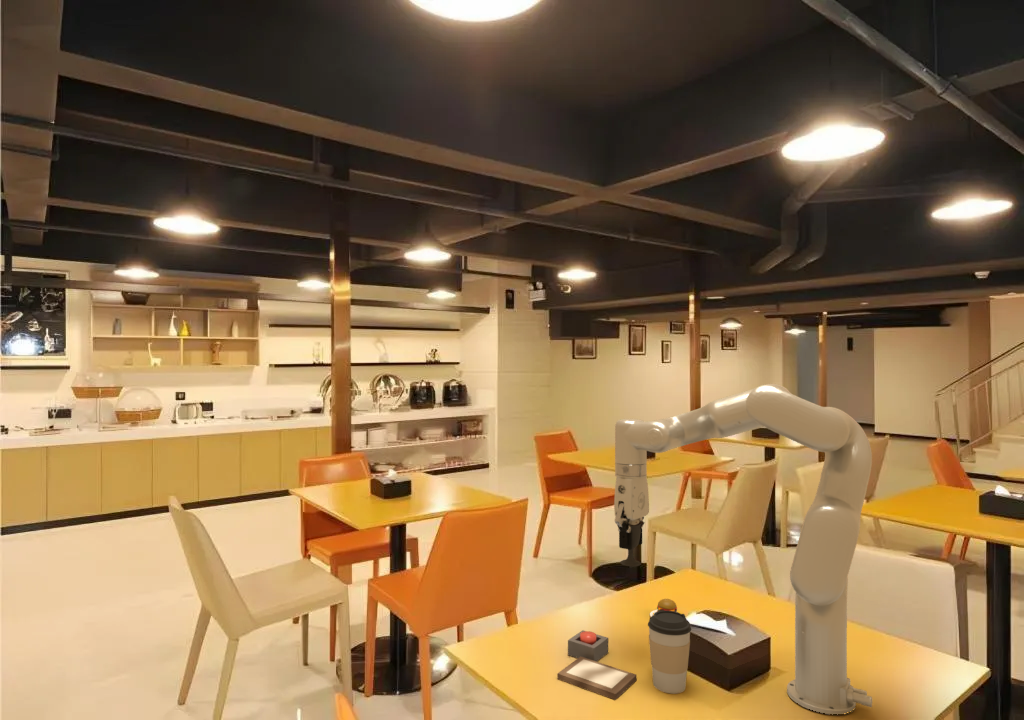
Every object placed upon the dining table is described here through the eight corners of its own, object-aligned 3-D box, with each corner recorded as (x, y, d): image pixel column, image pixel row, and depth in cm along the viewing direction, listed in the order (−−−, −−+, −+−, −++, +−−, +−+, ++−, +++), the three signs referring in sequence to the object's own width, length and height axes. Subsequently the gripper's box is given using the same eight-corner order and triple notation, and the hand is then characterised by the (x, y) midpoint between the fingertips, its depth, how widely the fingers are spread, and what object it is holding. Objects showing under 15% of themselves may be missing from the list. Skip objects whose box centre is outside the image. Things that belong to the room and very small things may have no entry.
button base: (608, 652, 145) (608, 637, 145) (594, 663, 140) (594, 648, 140) (582, 644, 149) (582, 630, 150) (567, 655, 144) (567, 640, 144)
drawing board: (636, 680, 132) (636, 673, 132) (615, 700, 124) (615, 693, 124) (580, 661, 141) (580, 655, 141) (557, 678, 133) (557, 672, 133)
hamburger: (637, 612, 171) (637, 592, 172) (676, 609, 174) (677, 590, 174) (654, 630, 160) (654, 609, 160) (697, 627, 162) (697, 606, 162)
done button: (599, 642, 145) (599, 634, 145) (591, 648, 142) (591, 639, 142) (585, 638, 147) (585, 629, 147) (577, 643, 144) (577, 635, 144)
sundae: (637, 569, 142) (637, 505, 143) (611, 564, 147) (611, 501, 147) (649, 562, 148) (649, 500, 148) (624, 557, 152) (624, 497, 152)
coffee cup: (649, 694, 127) (649, 621, 127) (645, 673, 136) (646, 605, 136) (694, 697, 125) (694, 624, 126) (687, 676, 134) (687, 607, 135)
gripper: (629, 476, 139) (629, 557, 138) (659, 467, 152) (659, 541, 152) (599, 473, 143) (599, 551, 143) (632, 464, 157) (632, 536, 156)
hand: (630, 545), depth 147 cm, fingers closed on sundae, 4 cm apart
